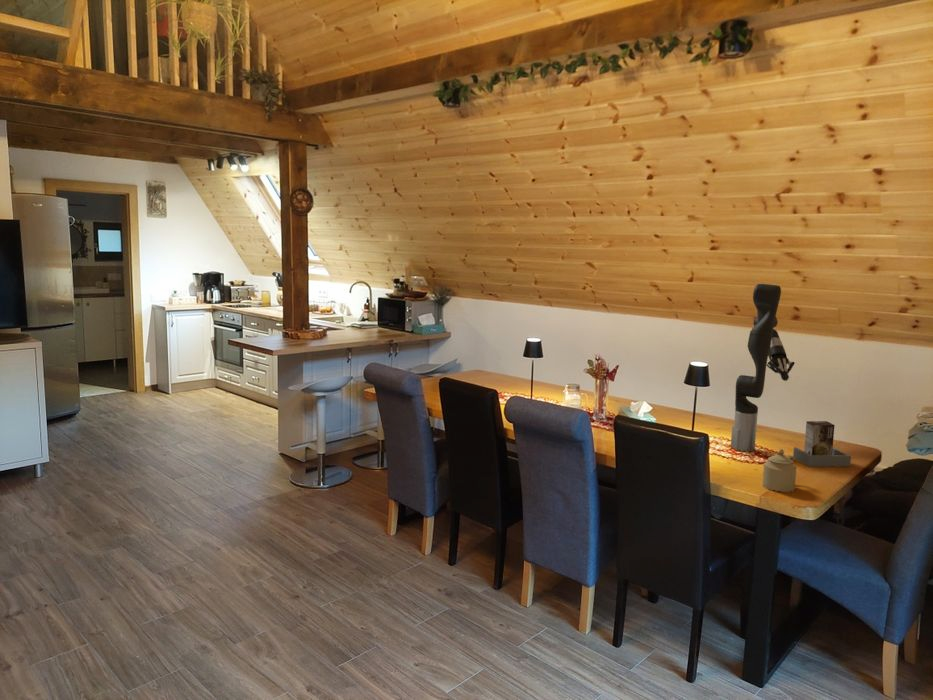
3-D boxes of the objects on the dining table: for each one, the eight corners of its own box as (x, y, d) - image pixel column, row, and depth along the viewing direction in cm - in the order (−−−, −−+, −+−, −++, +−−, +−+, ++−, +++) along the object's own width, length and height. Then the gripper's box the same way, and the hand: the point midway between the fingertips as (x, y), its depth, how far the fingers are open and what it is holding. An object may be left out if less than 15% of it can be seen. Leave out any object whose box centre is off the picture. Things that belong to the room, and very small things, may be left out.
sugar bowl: (760, 477, 259) (763, 440, 257) (791, 481, 256) (795, 443, 253) (763, 490, 246) (766, 451, 243) (796, 494, 242) (799, 454, 240)
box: (808, 466, 274) (809, 456, 273) (793, 457, 286) (793, 447, 285) (849, 466, 274) (851, 456, 274) (832, 457, 287) (833, 447, 286)
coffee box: (823, 457, 287) (826, 420, 285) (831, 461, 281) (835, 424, 278) (802, 457, 287) (806, 420, 284) (810, 461, 280) (814, 424, 278)
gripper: (764, 344, 310) (775, 375, 300) (792, 344, 311) (803, 375, 301) (758, 353, 317) (768, 384, 306) (785, 354, 317) (796, 384, 307)
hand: (786, 379), depth 303 cm, fingers closed
